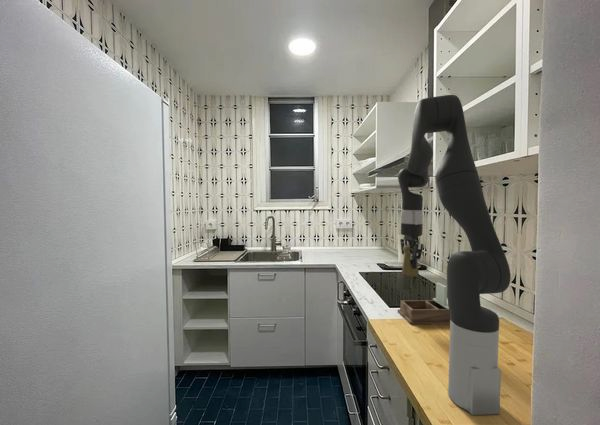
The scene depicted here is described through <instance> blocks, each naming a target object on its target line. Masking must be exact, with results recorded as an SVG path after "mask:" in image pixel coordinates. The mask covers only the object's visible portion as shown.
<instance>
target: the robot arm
mask: <svg viewBox="0 0 600 425" xmlns="http://www.w3.org/2000/svg"><path fill="white" fill-rule="evenodd" d="M464 113H465V112H464V109H463V105H462V101H461V100H460V98H459V96H458V95H456V94H445V95H438V96H430V97H425V98H422V99H420V100H419V101H418V102H417V104H416V107H415V109H414V114H413V120H412V121H413V122H412V133H411V146H410V151H409V152H410V153H409V155H408V158H407V162H406V167H403V168H402V169H400V170H399V171H398V174H397V181H398V184H399V189H400V191H401V192H400V193H401V198H402V199H401V201H402V203H401V204H402V205H401V207H402V208H401V216H400V234H401V235H402V236H403V238H400V249H401V254H402V255H403V257H404V256H405V253H404V250H403V248H404V246H405V245H408V247H409V253H410V259H411V260H410V263H411V264H412V269H416V265H417V262H418V260H421V257H422V253H423V249H424V244H423V243H420V238H419V237H421V236H423V226H424V223H423V222H424V214H423V205H424V203H423V202H424V200H423V199H424V198H423V196H422V194H419V193H415V192H411V191H410V188H424V187H426V186H427V185H428V183H429V182H430V181H429V180H430V176H429V175H430V174H429V167H430V164H431V162H432V160H433V157H434V156H433V154H434V151H433V148H432V146H431V144H430V142H429V141H428V140H427V138H426V134H434V133H440V132H441V133H442V132H446V133H447V135H448V144H447V147H446V151H445V153H444V155H443V157H442V158H441V159H442V160H441V161H440V163H439V165H438V167H437V170H436V174H435V183H436V188H437V193H438V197H439V200H440V203H441V204H442V206H443V207H444V209H445V210H446V212H448V213H449V215H450V216H451V217H452V218H453V219H454V220H455V222H456V223H457V224H458V226H460V227H461V229H462V230H463V231H464V233H465V235H466V237H467V240H468V243H469V246H470V249H471V250H469V251H468V250H465V251H455V252H454V253H452V255H450V257H449V259H448V261H447V266H446V287H447V298H448V306H449V310H450V324H449V325H450V326H449V348H448V349H449V351H448V352H449V354H448V355H449V356H448V390H447V391H448V392H447V394H448V397H449V398H450V399H451V401H452V402H453V403H454V404H455V405H457V406H458V407H460V408H461V409H464V410H465V411H467V412H468V413H469V414H470V415H472V416H474V415H477V416H478V415H481V416H482V415H483V416H484V415H500V411H501V387H502V386H501V383H502V381H501V380H502V370H501V368H499V367H498V366H499V340H500V318H499V315H498V314H497V312H495V311H493V310H491V309H490V308H487V307H484V306H481V305H482V304H481V298H480V297H481V296H480V295H487V294H499V293H503V292H505V291H506V290H508V288H509V286H510V284H511V278H512V277H511V276H512V274H511V269H510V265H509V261H508V259H507V256H506V254H505V251H504V249H503V246H502V245H501V242H500V240H499V237H498V234H497V232H496V230H495V227H494V225H493V221H492V219H491V216H490V212H489V208H488V206H487V202H486V200H485V196H484V192H483V187H482V183H481V182H482V181H481V179H480V176H479V173H478V169H477V166H476V163H475V161H474V157H473V154H472V150H471V145H470V142H469V138H468V137H469V136H468V132H467V124H466V120H465V119H466V118H465V114H464ZM411 248H412V249H413V248H414V252H413V251H411ZM412 253H413V254H412Z"/></svg>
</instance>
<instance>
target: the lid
mask: <svg viewBox="0 0 600 425" xmlns="http://www.w3.org/2000/svg"><path fill="white" fill-rule="evenodd" d="M432 300H434V301H435V302H437V303H439V304H440V305H442V306H443V307H445V308H446V309H449V306H448V296H447V285H444V284H442V283H440V282H436V283H435V297H433V298H432Z"/></svg>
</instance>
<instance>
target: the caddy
mask: <svg viewBox="0 0 600 425" xmlns="http://www.w3.org/2000/svg"><path fill="white" fill-rule="evenodd" d="M397 313H398V314H399V315H400V316H401V317H402V318H403V319H404V320H405V321H406V322H407V323H408V324H409V325H410V326H411V325H413V326H415V325H450V310H449V309H446V308H445V307H443V306H442V305H440V304H439V303H437V302H435V301H434V300H433V299H432V300H431V299H428V300H427V299H425V300H424V299H423V300H422V299H421V300H420V299H419V300H418V299H416V300H413V299H412V300H411V299H410V300H407V299H406V300H405V299H403V300H401V299H400V300H399V309H397Z"/></svg>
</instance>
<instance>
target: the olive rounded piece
mask: <svg viewBox="0 0 600 425" xmlns="http://www.w3.org/2000/svg"><path fill="white" fill-rule="evenodd" d="M403 250H404V253H405V256H404V255H403V263H402V270H401V274H402V275H403V276H406V277H420V276H419V265H418V261H417V265H416V269H412V264H411V263H410V260H411V259H410V253H409V247H408V245H405V246H404V248H403ZM411 251H413V252H414V248H413V249H412V248H411ZM412 254H413V253H412Z"/></svg>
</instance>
